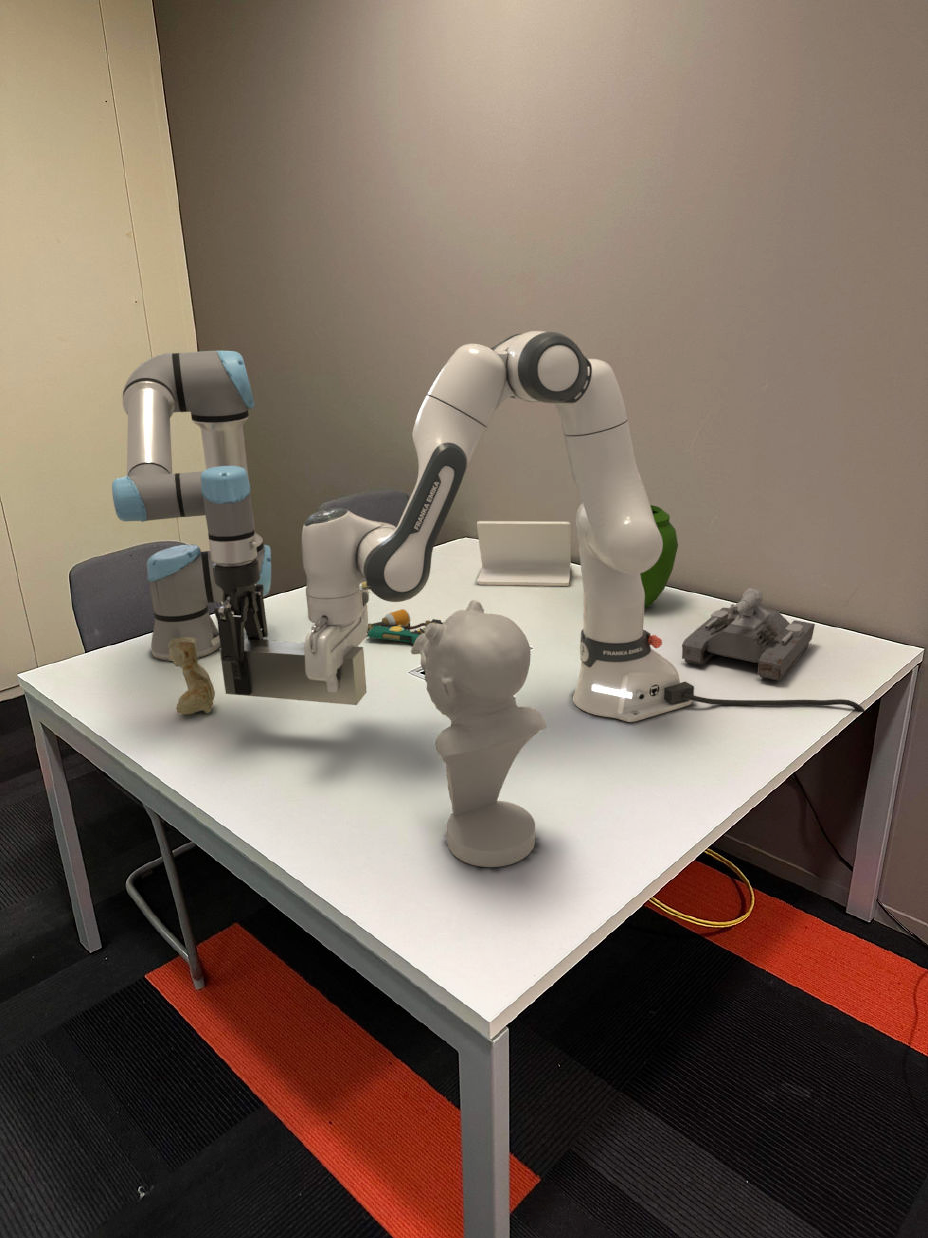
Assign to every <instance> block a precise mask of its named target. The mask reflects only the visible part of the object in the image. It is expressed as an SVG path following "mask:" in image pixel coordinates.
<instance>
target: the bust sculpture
mask: <svg viewBox="0 0 928 1238" xmlns="http://www.w3.org/2000/svg"><path fill="white" fill-rule="evenodd" d="M443 622H444V623H443ZM443 622H442V623H443V624H434V623H430V624H428V625H427V626H426V628H425V627H424V628H425V633H423V634H421V635H419V636H418V637H417V639H416V640H415V642H414V644H413V645H412V647H411V649H410V654H412V655H420V667H421V669H422V670H423V672H424V681H425V682H426V690H427V693H428V696H429V698H430V701H431V702H432V704H434V706H435V708H436V710H438V711H439V712H440V713H441V714H442V716H446V717H447V718H448V719H449V720H450V726H448V727H446V728H445V729H443V730H442V731H441V732H440V733H439V734H438V735H436V738H435V741H434V748H435V749H436V752H437V753H438V755H439V757H440V758H441V760H442V761H443V762H444V763H445V771H446V781H447V790H448V796H449V800H450V803H451V810H452V813H451V814H450V815H449V817H448V819H447V822H446V844H447V847H448V849H449V851H450V852H451V854H452V855H453V856H454V857H456V858H457V859H459V860H460V861H462V862H463V863H466V864H469V865H471V866H476V867H483V868H498V867H505V866H509V865H512V864H517V862H520V861H521V860H523V859H525V858H527V856H528V855H530V854H531V852H532V851H533V849H535V848H534V847H535V845H536V822H535V821H536V820H535V819H534V817H533V816H532V814H531V813H530V812H529V811H528V810H526V809H525V808H524V807H522V806H520V805H517V804H515V803H513V802H509V801H504V800H499V796H500V793H501V790H502V788H503V785H504V783H505V780H506V778H507V776H508V773H509V771H510V769H511V768H512V765H513V763H514V761H515V760H516V759H517V756H518V755H519V753H520V752H521V750H522V749H523V748H524V747H525V745H526V744H527V743H528V742H529V741H530V740H531V739H532V738H533V737H535V735H537V734H538V733H539V732H541V731H544V730H545V729H546V728H547V725H546V723H545V720H544V718H543V717H542V714H541V713H540V712H539V711H538V710H537V709H535V708H533V707H530V706H518V705H517V701H516V699H517V698H516V696H515V695H516V694H517V693H519V691H521V689H522V688H523V686H524V684H525V683H526V680H527V678H528V675H529V669H530V666H531V657H532V655H531V653H532V652H531V646H530V642H529V640H528V638H527V635H526V634H525V633H524V632H523V630H522V629H521V628H520V626H519V625H517V624H516V622H514V620H512V619H511V618H508V617H507V616H504V615H503V614H502V615H501V614H496V613H485V609H484V607H483V605H482V603H481V602H480V601H478V600H473V599H472V600H470V601H469V603H468V605H467V607H466V609H460V610H457V611H455V612H453V613H451V615H449V616H448V617H447V618H446V619H445V620H444V621H443Z"/></svg>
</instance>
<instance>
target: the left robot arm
mask: <svg viewBox="0 0 928 1238" xmlns="http://www.w3.org/2000/svg"><path fill="white" fill-rule="evenodd" d="M248 375H249V374H248V371H247V368H246V363H245V360H244V357H243V356H242V354H241V353H240V352H238V351H234V350H206V351H205V350H204V351H189V352H165V353H161V354H157V355H155V356H152V357H150V358H148V359H147V360H145V361H144V362H142V363H141V364H140V365H139V366H138V367H136V368H135V369H134V371H132V373H131V374H130V375H129V377H128V378H127V380H126V382H125V384H124V387H123V391H122V407H123V411H124V412H125V414H126V415H127V443H126V444H127V445H126V447H127V448H126V451H127V452H126V475H125V476H123V477H116V478H115V479H114V480H113V481H112V483H111V493H112V494H111V495H112V501H113V502H112V503H113V506H114V511H115V514H116V516H117V518H118V519H119V520H120V521H122V522H141V523H143V522H149V521H159V520H168V519H177V518H191V517H202V516H205V520H206V521H205V522H206V526H207V531H208V533H207V536H208V544H209V550H207V551H206V550H205V551H201V548H200V547H199V545H197V544H180V545H175V546H171V547H167V548H165V549H162V550H159V551H157V552H154V554H152V555H151V556H149V558H148V559H147V561H146V572H147V578H146V579H147V582H148V584H149V589H150V596H151V603H152V609H153V615H154V626H153V631H152V636H151V642H150V650H151V654H152V656H153V657H154V658H156V659H158V660H162V661H169V662H172V661H171V660H169V647H168V645H169V642H170V640H171V639H174V638H181V637H193V638H196V646H197V659H200V658H203V657H206V656H208V655H211V654H213V653H215V652H216V651H218V650H220V648H221V654H222V660H223V661H224V662H231V666H232V673H233V681H234V688H235V694H243V695H242V696H245V695H250V694H251V686H250V678H249V670H248V662H247V659H244V639H245V634H246V639H253V640H268V639H265V638H268V636H269V632H268V624H267V615H266V608H265V600H264V597H265V596H267V595H268V594H269V593H270V590H271V585H272V584H271V583H272V549H271V547H270V545H267V544H264V539H263V537H262V536H261V535H259V534H258V533H257V532H256V529H255V521H254V513H253V512H254V511H253V504H252V495H251V483H250V477H249V469H248V463H247V462H248V461H247V452H246V443H245V435H244V424H245V423H246V422H247V421H248V420H249V418H250V415H249V414H250V413H249V410H252V409H253V408H255V405H256V404H255V401H254V397H253V392H252V388H251V384H250V379H249V376H248ZM174 413H190V417H191V422H193V423H194V424H195V425H196V426H197V427H199V429H200V434H201V441H202V449H203V455H204V457H203V458H204V464H205V469H204V470H203V471H190V472H175V473H173V457H172V438H171V437H172V432H171V418H172V416H173V415H174ZM221 602H222V604H221V606H215V607H214V609H213V613H214V616H215V618H216V621H217V626H216V624H215V622H214V621H213V619H212V616H211V615H210V612H209V604H213V603H221Z"/></svg>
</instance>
